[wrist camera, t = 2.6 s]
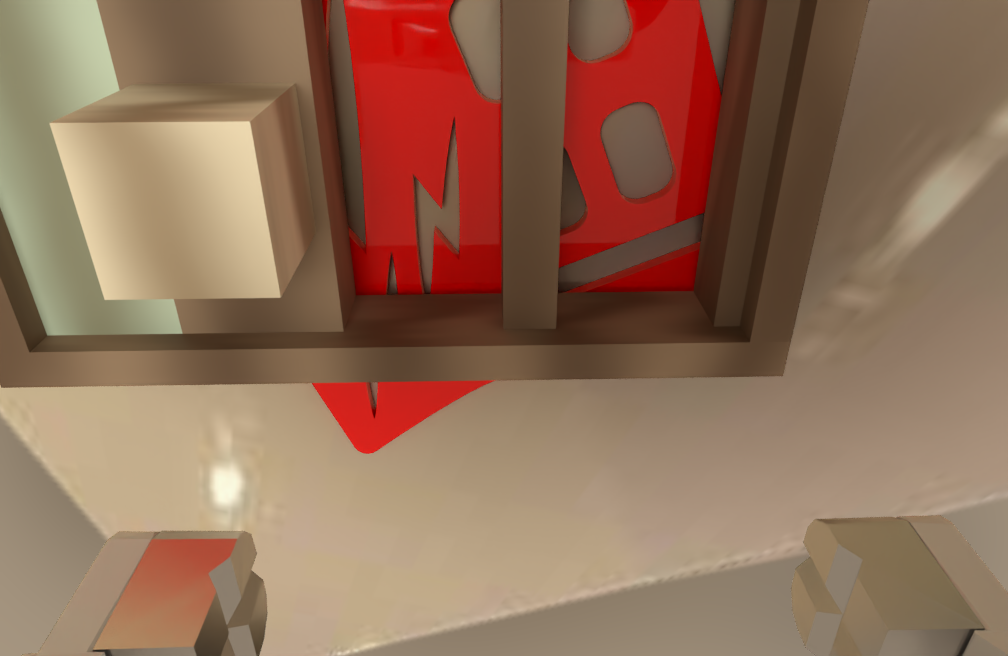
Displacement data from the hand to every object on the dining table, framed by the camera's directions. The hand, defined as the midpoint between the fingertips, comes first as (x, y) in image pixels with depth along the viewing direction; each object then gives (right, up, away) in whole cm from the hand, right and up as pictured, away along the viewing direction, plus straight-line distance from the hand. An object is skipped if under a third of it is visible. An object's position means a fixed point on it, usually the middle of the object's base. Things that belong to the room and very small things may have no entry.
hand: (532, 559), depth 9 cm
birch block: (-9, +8, +15) cm, 19 cm away
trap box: (-4, +10, +17) cm, 21 cm away
